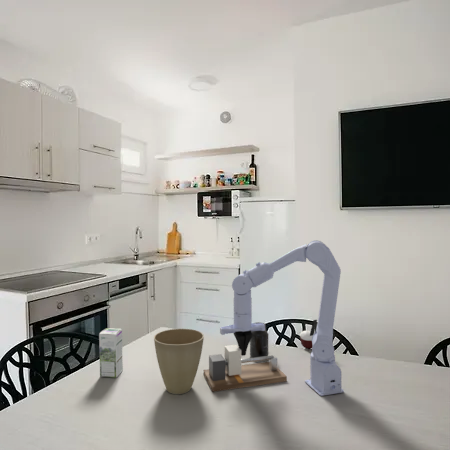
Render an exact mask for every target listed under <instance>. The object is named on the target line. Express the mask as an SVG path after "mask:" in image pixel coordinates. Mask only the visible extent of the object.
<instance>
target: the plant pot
mask: <svg viewBox="0 0 450 450" xmlns="http://www.w3.org/2000/svg"><path fill="white" fill-rule="evenodd" d="M204 338H205V336H204V334H203V332H201V331H199V330H196V329H191V328H171V329H166V330H162V331H159V332H158V333H156V334H155V335H154V336H153V341H154V348H155V353H156V355H155V356H156V360H157V364H158V367H159V372H160V374H161V378H162V381H163V384H164V387H165V389H166V391H167V392H168V393H170V394H173V395H182V394H186V393H188V392H189V391H191V389H192V387H193V384H194V382H195V379H196V375H197V372H198V369H199V366H200V362H201V358H202V357H201V356H202V352H203V347H204V346H203V345H204V340H205V339H204Z"/></svg>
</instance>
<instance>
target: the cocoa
mask: <svg viewBox="0 0 450 450" xmlns="http://www.w3.org/2000/svg"><path fill="white" fill-rule="evenodd" d="M317 323H318V319H313V320H312V324H311V329H310V330H303V331H301V332H300V333H299V337H300V344H301V346H302V347H303V348H305V349H308V350H309V349H311V350H312V336H313V335H314V333H315V332H316V328H317Z"/></svg>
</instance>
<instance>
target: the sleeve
mask: <svg viewBox="0 0 450 450" xmlns="http://www.w3.org/2000/svg"><path fill="white" fill-rule="evenodd" d="M224 359H225V361H228V365H225V370H226V372H227V373H228V375H229V376H231V375H238V374H241V365H242V363H241V359H242V355H241V349H240V348H239V346H238V344H231V345H224Z"/></svg>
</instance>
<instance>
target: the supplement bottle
mask: <svg viewBox="0 0 450 450" xmlns="http://www.w3.org/2000/svg"><path fill="white" fill-rule="evenodd" d="M256 323H261V322H260V321H259V322H256ZM262 323H263V324H264V325H265V331H261V330H259V331H251V333H252V334H253V336H252V338H251V340H250V342H249V356H250V358H255V357H263V356H269V333H268V331H267V327H266V323H264V322H262Z"/></svg>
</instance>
